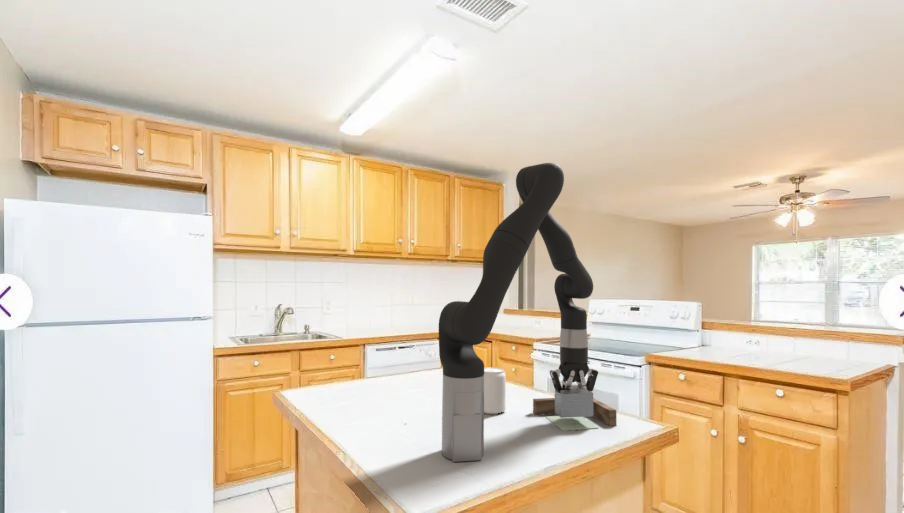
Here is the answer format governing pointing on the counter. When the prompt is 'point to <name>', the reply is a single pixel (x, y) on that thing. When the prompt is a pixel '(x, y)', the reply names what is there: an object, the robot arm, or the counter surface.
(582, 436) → the counter surface
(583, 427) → the mat
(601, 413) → the wooden corner fixture
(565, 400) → the bracket
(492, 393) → the beverage can
